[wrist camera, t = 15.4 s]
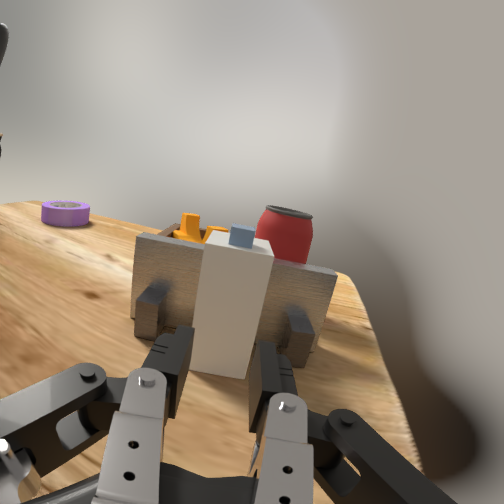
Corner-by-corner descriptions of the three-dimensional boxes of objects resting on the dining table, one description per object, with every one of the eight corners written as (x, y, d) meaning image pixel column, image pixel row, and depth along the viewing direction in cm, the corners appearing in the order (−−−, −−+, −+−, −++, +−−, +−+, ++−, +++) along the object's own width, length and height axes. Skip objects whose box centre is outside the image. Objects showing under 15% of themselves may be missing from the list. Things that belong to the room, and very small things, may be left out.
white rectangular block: (186, 369, 21) (208, 224, 19) (196, 337, 26) (216, 215, 23) (245, 379, 21) (279, 238, 19) (245, 346, 26) (272, 226, 24)
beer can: (286, 322, 33) (313, 218, 30) (233, 305, 35) (254, 204, 32) (297, 304, 39) (320, 216, 36) (252, 290, 41) (270, 204, 38)
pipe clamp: (168, 247, 52) (173, 211, 51) (189, 248, 55) (195, 214, 53) (195, 271, 43) (202, 228, 41) (220, 271, 45) (228, 230, 44)
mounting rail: (118, 331, 23) (123, 243, 22) (145, 297, 31) (153, 227, 29) (319, 369, 24) (348, 287, 23) (305, 328, 32) (324, 260, 30)
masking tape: (44, 227, 48) (45, 208, 47) (38, 216, 55) (39, 199, 54) (94, 227, 57) (96, 209, 56) (81, 216, 64) (83, 200, 63)
